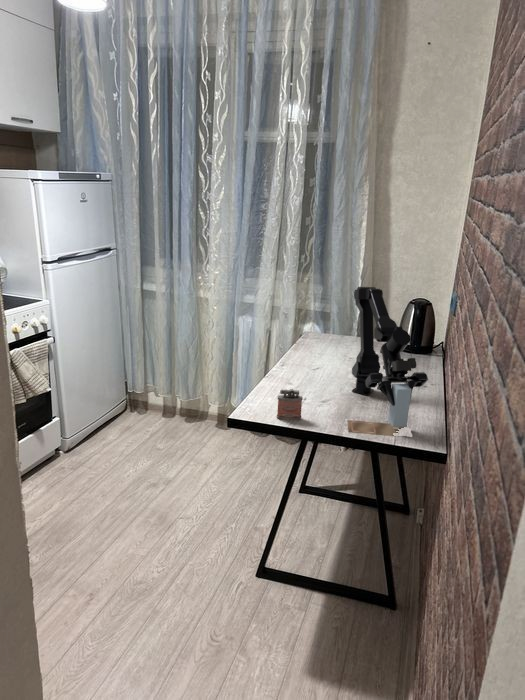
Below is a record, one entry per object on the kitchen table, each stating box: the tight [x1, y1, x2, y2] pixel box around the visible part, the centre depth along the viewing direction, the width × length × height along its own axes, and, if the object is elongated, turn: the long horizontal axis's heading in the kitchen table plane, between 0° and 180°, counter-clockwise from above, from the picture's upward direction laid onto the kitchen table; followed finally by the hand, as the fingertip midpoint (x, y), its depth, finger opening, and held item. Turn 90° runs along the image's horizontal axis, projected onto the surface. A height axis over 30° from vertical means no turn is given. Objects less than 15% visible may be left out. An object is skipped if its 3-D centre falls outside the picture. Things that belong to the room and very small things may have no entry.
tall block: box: [387, 383, 413, 427], centre depth 168 cm, size 4×4×12 cm
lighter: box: [276, 388, 303, 421], centre depth 175 cm, size 8×3×10 cm, turn 92°
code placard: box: [346, 419, 404, 437], centre depth 171 cm, size 20×9×1 cm, turn 83°
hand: (401, 405), depth 166 cm, fingers closed on tall block, 4 cm apart
